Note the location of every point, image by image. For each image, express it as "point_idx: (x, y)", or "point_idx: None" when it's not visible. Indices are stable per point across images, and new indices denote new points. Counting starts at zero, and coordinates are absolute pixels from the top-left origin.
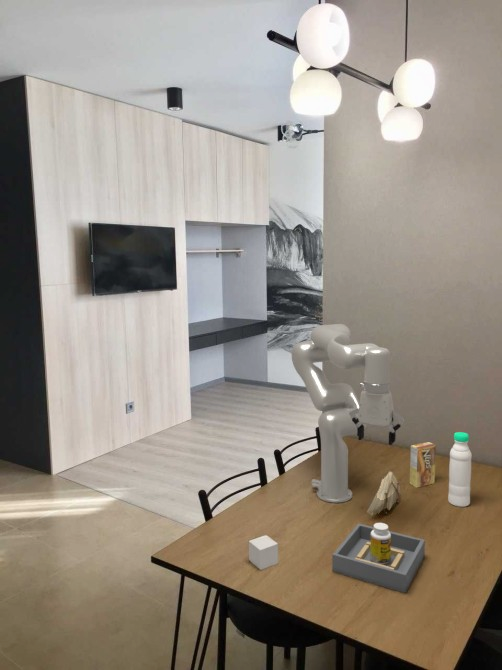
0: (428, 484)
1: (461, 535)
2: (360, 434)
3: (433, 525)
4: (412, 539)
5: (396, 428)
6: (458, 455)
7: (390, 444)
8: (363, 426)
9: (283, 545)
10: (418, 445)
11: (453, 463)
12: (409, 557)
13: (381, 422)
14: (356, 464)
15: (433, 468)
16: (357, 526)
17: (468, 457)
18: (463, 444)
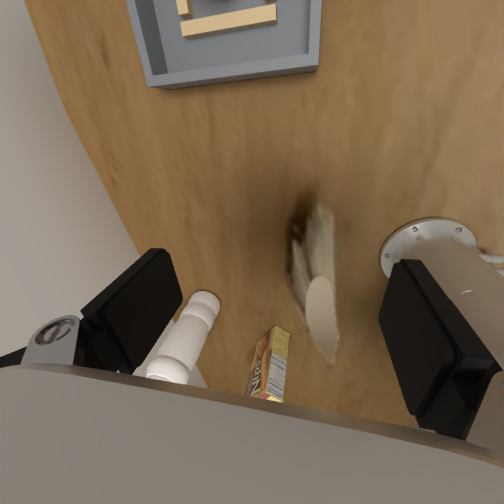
0: (263, 337)
1: (160, 207)
2: (418, 294)
3: (206, 219)
4: (171, 73)
5: (10, 360)
6: (160, 365)
7: (153, 248)
8: (415, 408)
9: None
10: None
11: (180, 350)
12: (177, 41)
13: (1, 442)
14: None
15: (253, 363)
16: (314, 42)
17: (149, 364)
18: None
